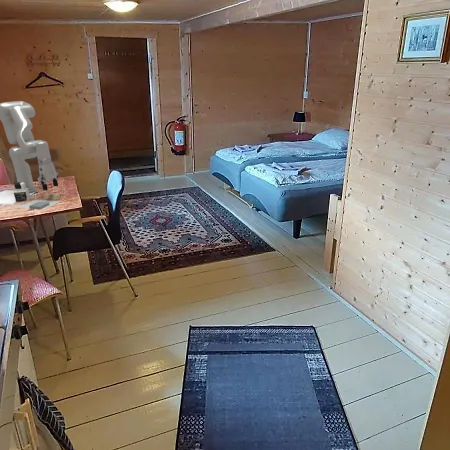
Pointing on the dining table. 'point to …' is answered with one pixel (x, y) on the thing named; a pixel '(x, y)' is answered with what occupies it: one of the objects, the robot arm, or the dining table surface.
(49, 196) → the turner
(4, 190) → the dining table surface
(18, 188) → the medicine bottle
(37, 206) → the tile
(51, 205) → the mat
